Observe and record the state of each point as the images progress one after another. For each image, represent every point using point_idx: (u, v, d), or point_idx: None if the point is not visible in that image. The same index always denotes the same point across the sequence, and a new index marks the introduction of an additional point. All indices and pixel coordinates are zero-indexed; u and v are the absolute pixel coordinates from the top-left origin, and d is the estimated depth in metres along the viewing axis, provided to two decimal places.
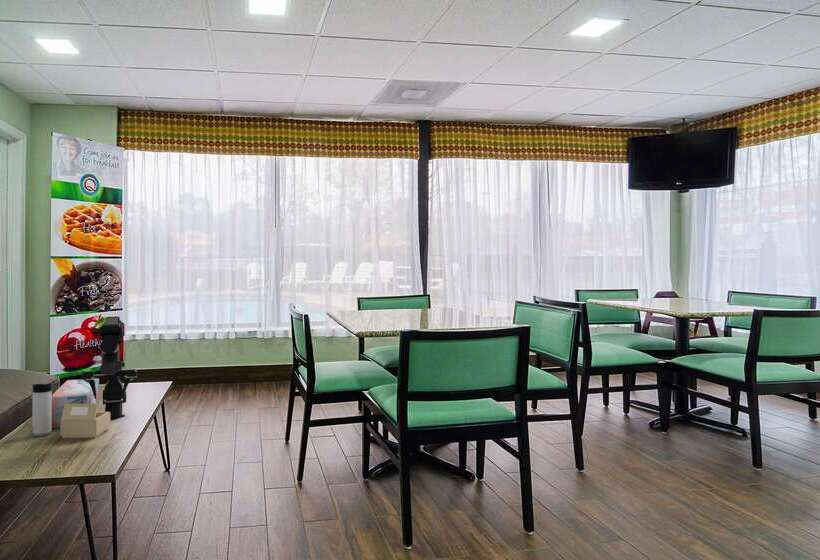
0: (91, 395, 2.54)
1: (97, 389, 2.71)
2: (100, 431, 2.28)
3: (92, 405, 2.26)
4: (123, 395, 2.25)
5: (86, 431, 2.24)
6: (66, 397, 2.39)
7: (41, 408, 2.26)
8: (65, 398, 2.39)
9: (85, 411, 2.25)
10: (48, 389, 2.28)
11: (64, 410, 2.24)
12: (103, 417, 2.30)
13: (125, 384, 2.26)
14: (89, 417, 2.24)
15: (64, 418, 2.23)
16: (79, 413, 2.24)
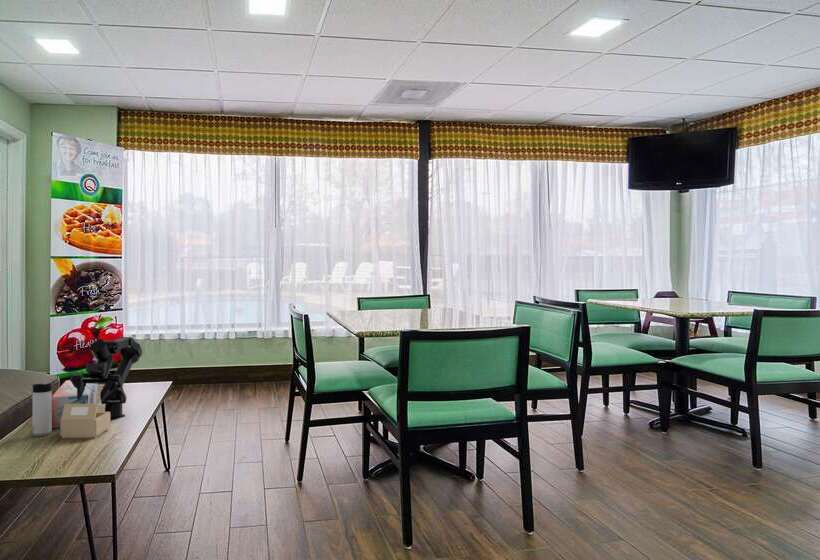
0: (92, 395, 2.54)
1: None
2: (100, 431, 2.28)
3: (92, 405, 2.26)
4: (102, 397, 2.33)
5: (86, 431, 2.24)
6: (67, 397, 2.39)
7: (41, 408, 2.26)
8: (66, 398, 2.39)
9: (85, 411, 2.25)
10: (48, 389, 2.28)
11: (64, 410, 2.24)
12: (103, 417, 2.30)
13: (107, 387, 2.36)
14: (89, 417, 2.24)
15: (64, 418, 2.23)
16: (79, 413, 2.24)
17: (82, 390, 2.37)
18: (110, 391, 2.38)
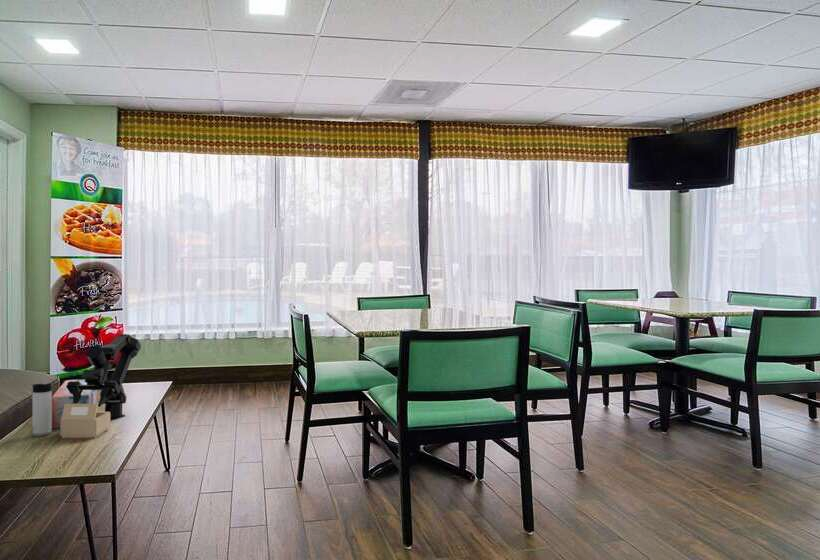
0: (92, 395, 2.54)
1: None
2: (100, 431, 2.28)
3: (92, 405, 2.26)
4: (99, 404, 2.30)
5: (86, 431, 2.24)
6: (68, 397, 2.39)
7: (41, 408, 2.26)
8: (67, 398, 2.39)
9: (85, 411, 2.25)
10: (48, 389, 2.28)
11: (64, 410, 2.24)
12: (103, 417, 2.30)
13: (103, 394, 2.33)
14: (89, 417, 2.24)
15: (64, 418, 2.23)
16: (79, 413, 2.24)
17: (78, 397, 2.34)
18: (107, 398, 2.35)
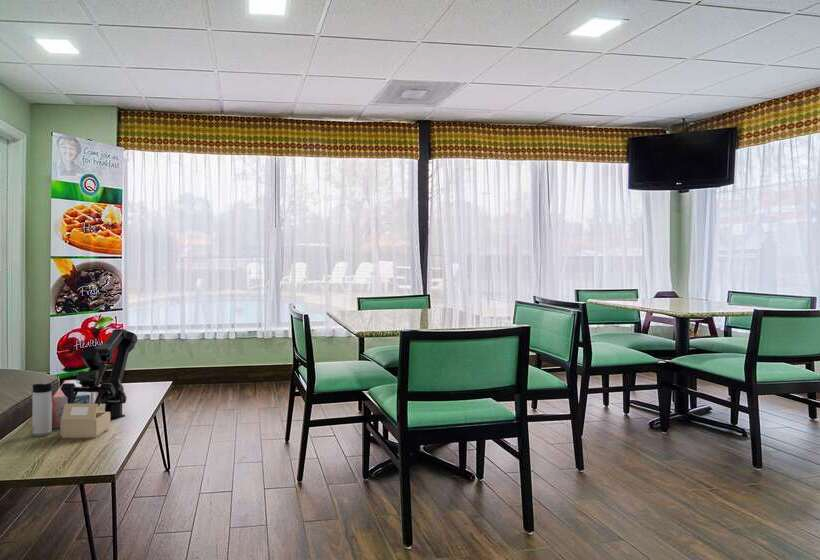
0: (92, 395, 2.54)
1: None
2: (100, 431, 2.28)
3: (92, 405, 2.26)
4: None
5: (86, 431, 2.24)
6: None
7: (41, 408, 2.26)
8: None
9: (85, 411, 2.25)
10: (48, 389, 2.28)
11: (64, 410, 2.24)
12: (103, 417, 2.30)
13: (98, 396, 2.29)
14: (89, 417, 2.24)
15: (64, 418, 2.23)
16: (79, 413, 2.24)
17: (73, 399, 2.30)
18: (102, 400, 2.30)
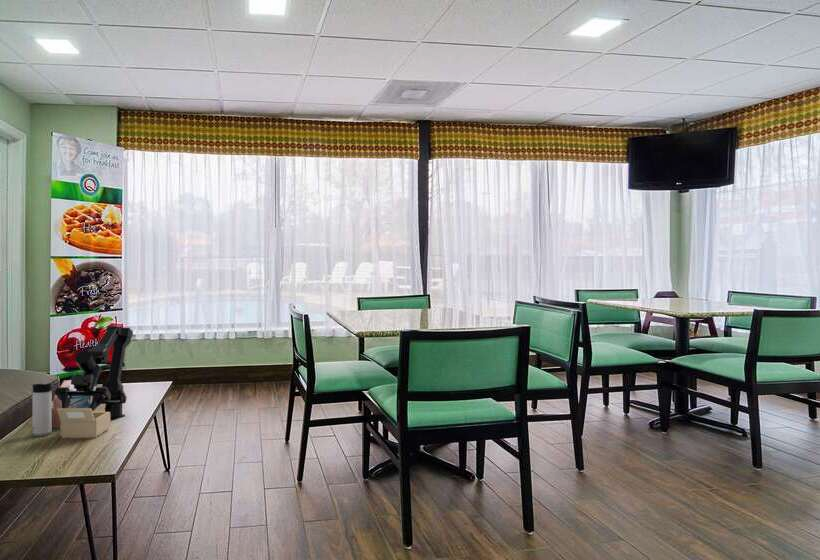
0: None
1: None
2: (100, 431, 2.28)
3: (86, 411, 2.21)
4: None
5: (86, 431, 2.24)
6: None
7: (41, 408, 2.26)
8: None
9: (82, 415, 2.22)
10: (48, 389, 2.28)
11: (60, 414, 2.21)
12: (103, 417, 2.30)
13: (93, 400, 2.24)
14: (88, 419, 2.23)
15: (63, 420, 2.23)
16: (77, 417, 2.22)
17: (67, 403, 2.26)
18: (97, 404, 2.26)
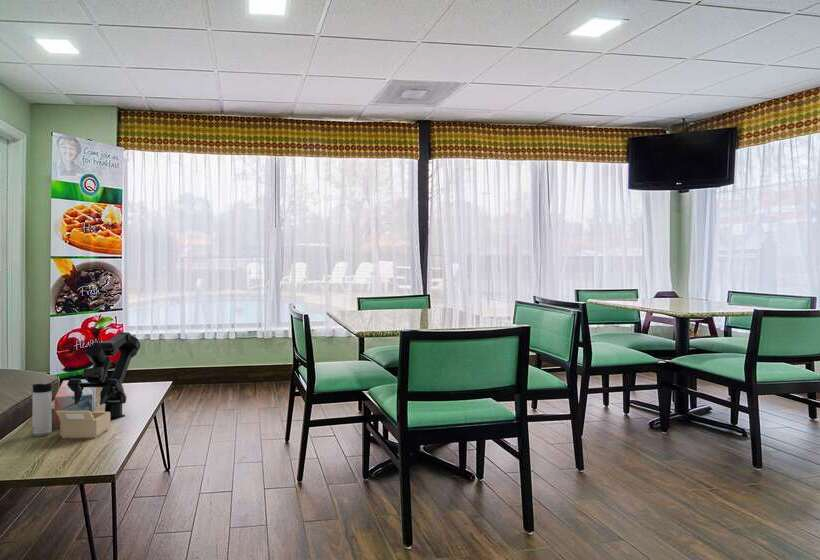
0: (93, 395, 2.54)
1: (95, 389, 2.72)
2: (100, 431, 2.28)
3: (85, 413, 2.20)
4: (100, 402, 2.32)
5: (86, 431, 2.24)
6: (71, 397, 2.40)
7: (41, 408, 2.26)
8: (70, 398, 2.39)
9: (81, 416, 2.22)
10: (48, 389, 2.28)
11: (59, 416, 2.21)
12: (103, 417, 2.30)
13: (104, 392, 2.34)
14: (88, 420, 2.23)
15: (63, 420, 2.23)
16: (76, 418, 2.22)
17: (80, 394, 2.35)
18: (108, 395, 2.36)
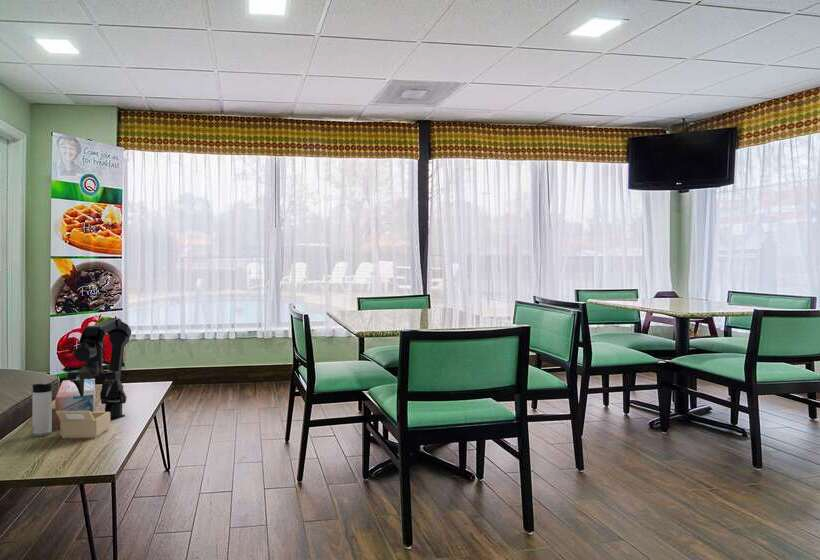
0: None
1: None
2: (100, 431, 2.28)
3: (85, 413, 2.20)
4: (105, 395, 2.36)
5: (86, 431, 2.24)
6: (72, 397, 2.40)
7: (41, 408, 2.26)
8: (71, 398, 2.39)
9: (81, 416, 2.22)
10: (48, 389, 2.28)
11: (59, 416, 2.21)
12: (103, 417, 2.30)
13: (106, 386, 2.35)
14: (88, 420, 2.23)
15: (63, 420, 2.23)
16: (76, 418, 2.22)
17: (82, 384, 2.37)
18: (110, 385, 2.38)
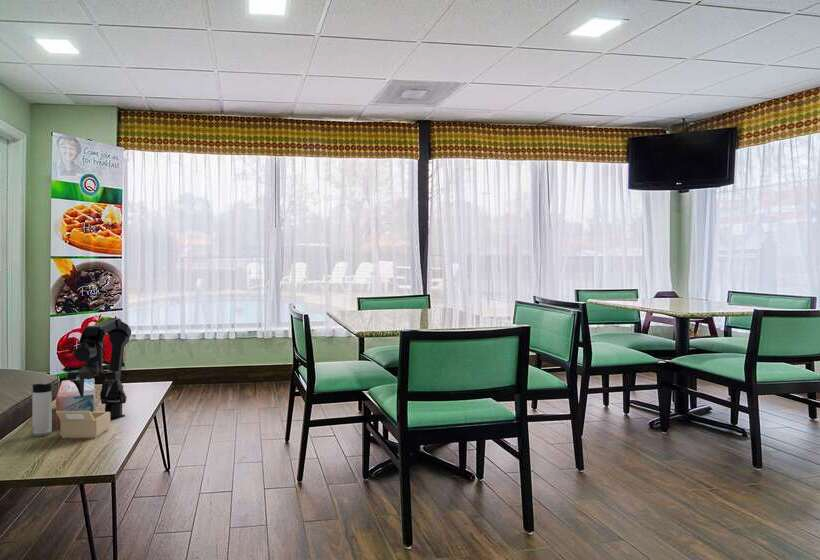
0: None
1: None
2: (100, 431, 2.28)
3: (85, 413, 2.20)
4: (105, 395, 2.36)
5: (86, 431, 2.24)
6: (73, 397, 2.40)
7: (41, 408, 2.26)
8: (72, 398, 2.40)
9: (81, 416, 2.22)
10: (48, 389, 2.28)
11: (59, 416, 2.21)
12: (103, 417, 2.30)
13: (106, 386, 2.35)
14: (88, 420, 2.23)
15: (63, 420, 2.23)
16: (76, 418, 2.22)
17: (82, 384, 2.37)
18: (110, 385, 2.38)
